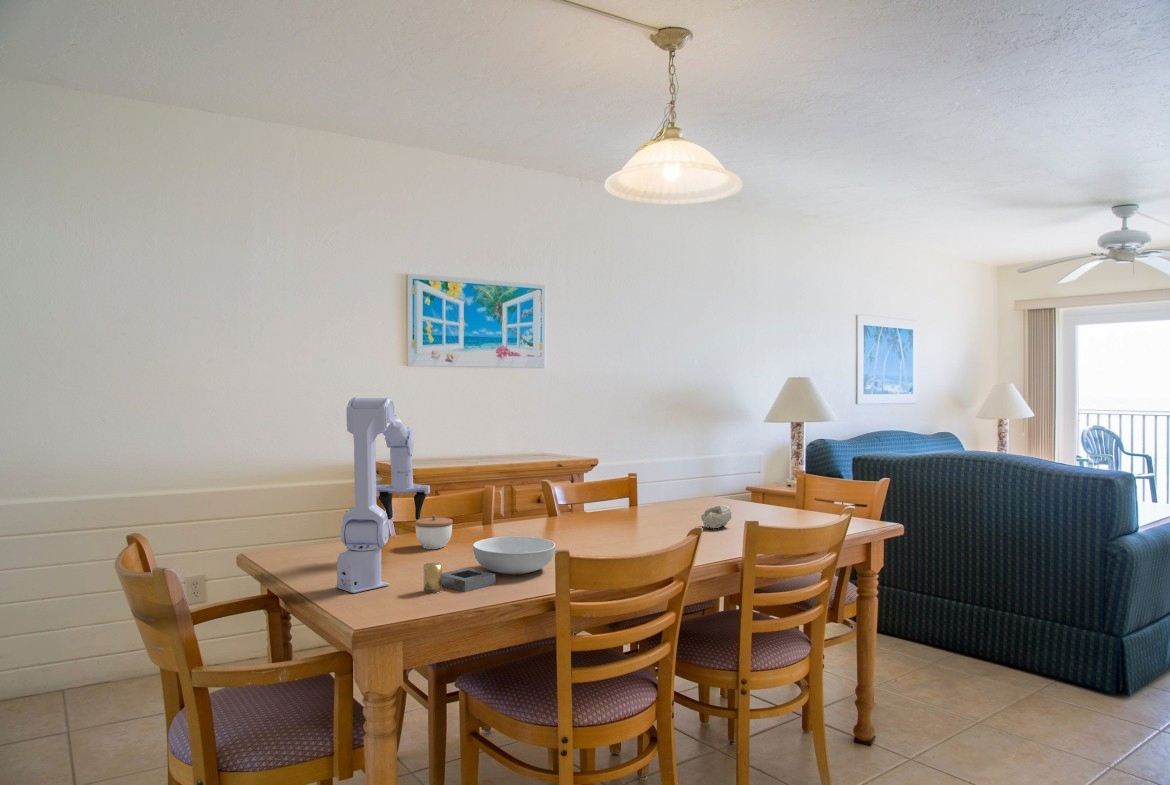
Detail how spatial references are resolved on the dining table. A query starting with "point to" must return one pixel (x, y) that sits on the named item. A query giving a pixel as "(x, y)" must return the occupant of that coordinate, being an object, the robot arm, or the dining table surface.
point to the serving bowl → (514, 554)
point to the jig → (467, 579)
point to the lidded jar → (433, 532)
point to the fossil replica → (716, 516)
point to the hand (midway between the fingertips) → (404, 518)
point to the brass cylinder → (432, 577)
